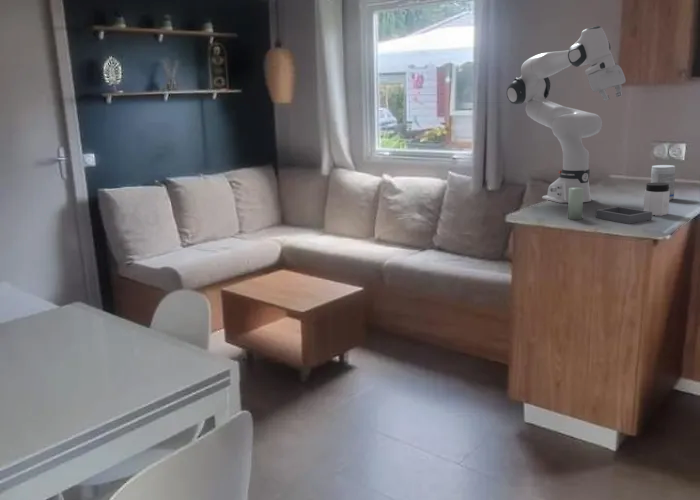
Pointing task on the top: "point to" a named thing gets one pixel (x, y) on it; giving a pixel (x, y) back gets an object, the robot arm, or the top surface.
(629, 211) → the tray
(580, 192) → the pale green cylinder
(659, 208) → the jar
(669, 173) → the supplement tub
